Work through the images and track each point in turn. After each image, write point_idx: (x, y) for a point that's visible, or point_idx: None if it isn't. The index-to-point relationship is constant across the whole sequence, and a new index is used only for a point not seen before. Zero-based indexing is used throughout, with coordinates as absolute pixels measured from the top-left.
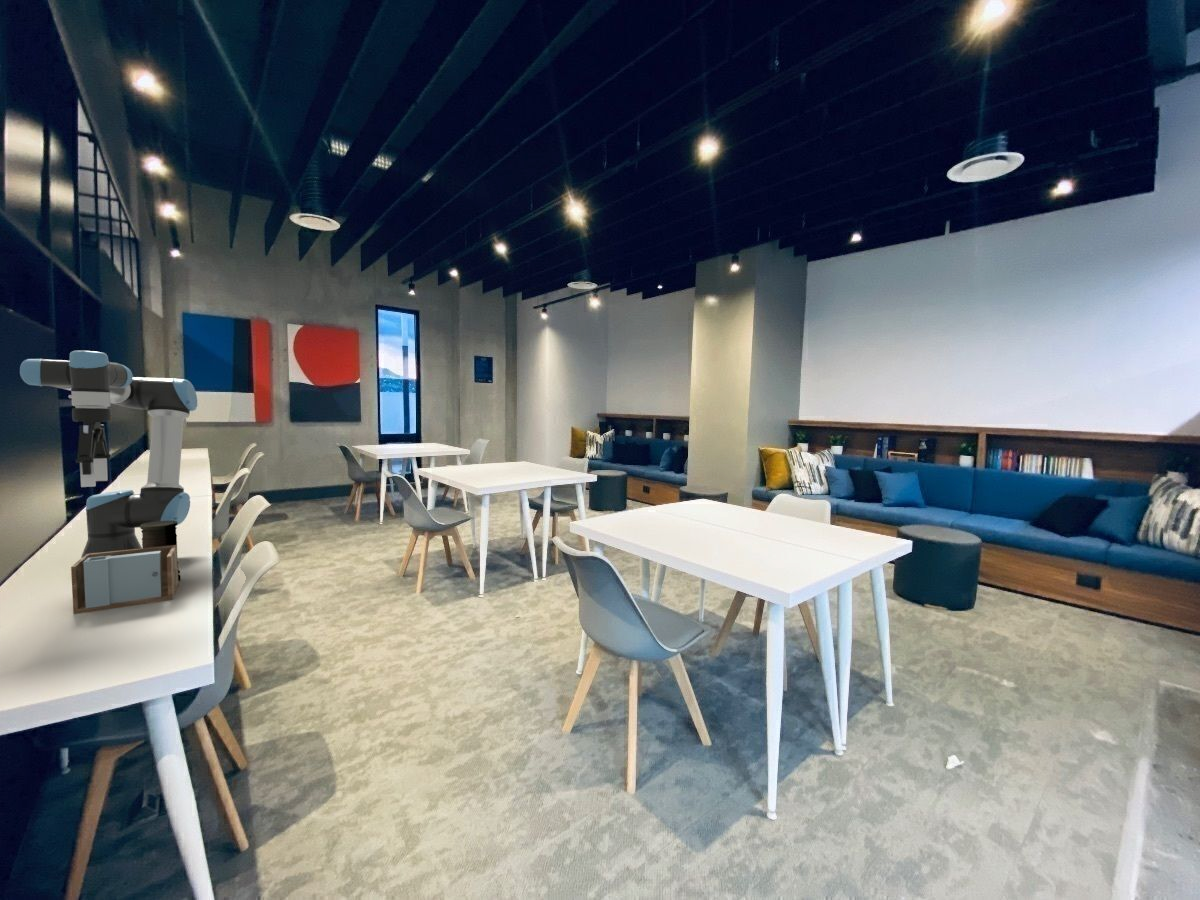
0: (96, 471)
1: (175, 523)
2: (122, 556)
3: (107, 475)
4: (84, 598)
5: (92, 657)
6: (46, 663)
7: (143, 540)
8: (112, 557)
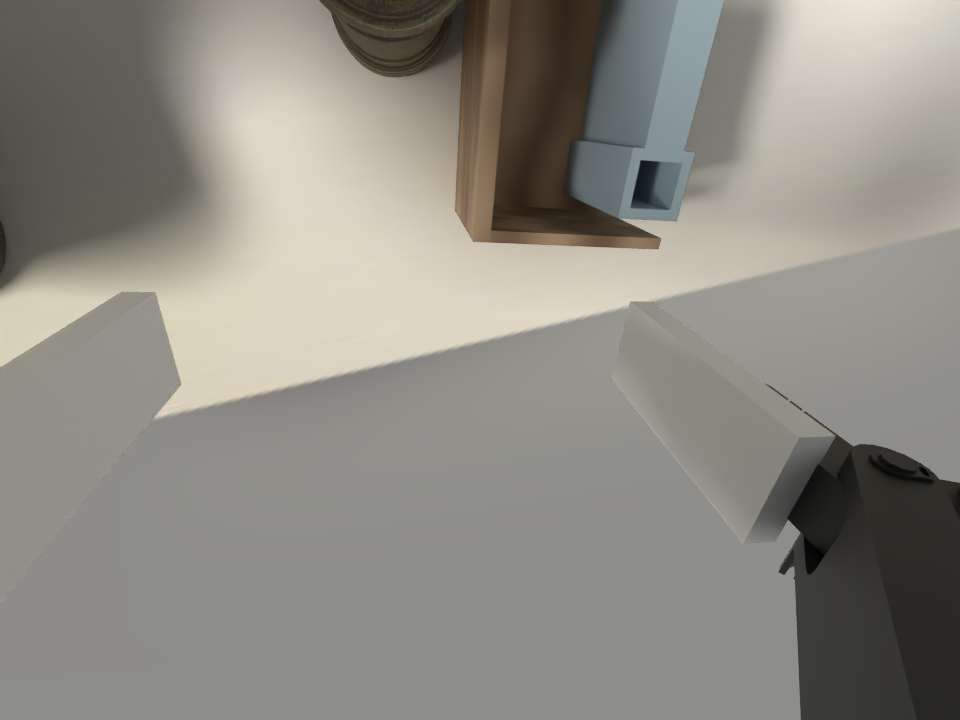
0: (117, 430)
1: None
2: (685, 104)
3: (90, 314)
4: (541, 208)
5: (925, 135)
6: (878, 206)
7: (426, 32)
8: (675, 139)
